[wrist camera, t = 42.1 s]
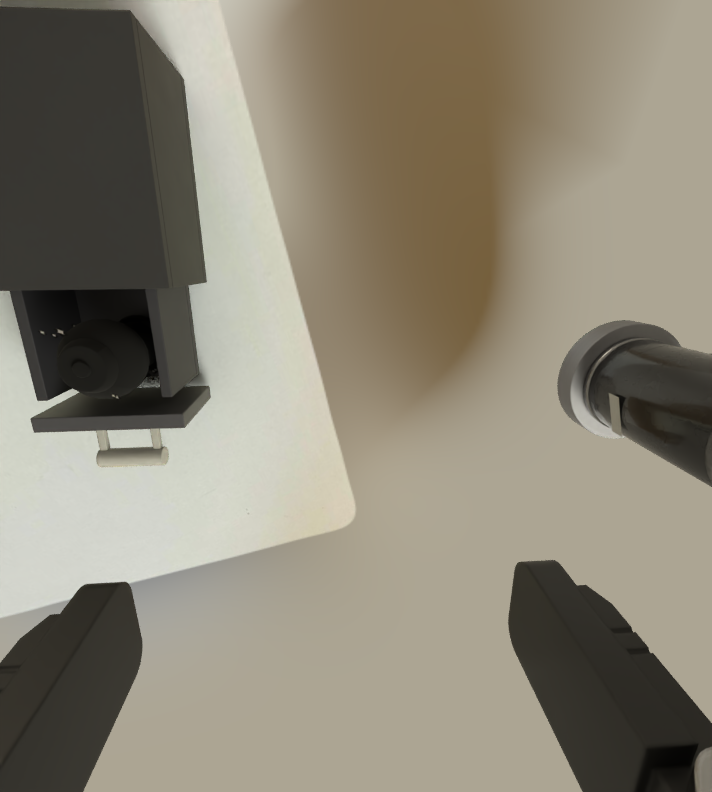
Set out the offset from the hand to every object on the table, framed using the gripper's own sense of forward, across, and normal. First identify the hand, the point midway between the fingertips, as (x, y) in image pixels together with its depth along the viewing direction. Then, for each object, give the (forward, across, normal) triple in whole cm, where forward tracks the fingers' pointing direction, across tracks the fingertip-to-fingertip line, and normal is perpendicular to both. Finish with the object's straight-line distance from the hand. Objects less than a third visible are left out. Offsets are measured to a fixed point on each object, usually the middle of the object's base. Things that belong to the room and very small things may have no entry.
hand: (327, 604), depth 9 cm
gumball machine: (+31, +16, 0) cm, 35 cm away
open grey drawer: (+32, +17, 0) cm, 36 cm away
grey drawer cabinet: (+33, +17, -13) cm, 39 cm away
